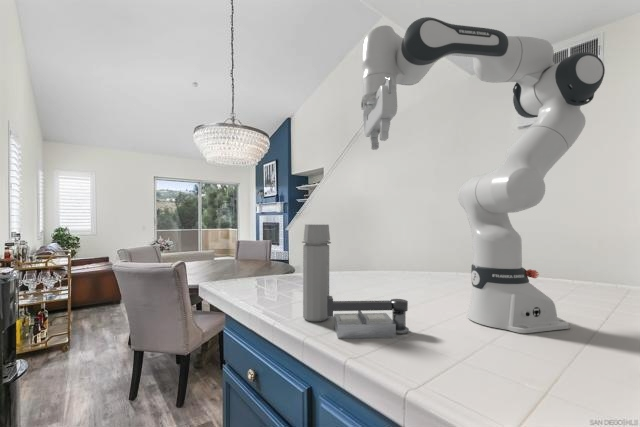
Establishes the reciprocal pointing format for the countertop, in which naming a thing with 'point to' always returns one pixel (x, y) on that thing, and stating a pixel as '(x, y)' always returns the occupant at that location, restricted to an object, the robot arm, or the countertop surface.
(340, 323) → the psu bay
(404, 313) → the grey round knob
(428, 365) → the countertop surface
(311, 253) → the water bottle
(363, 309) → the bar
